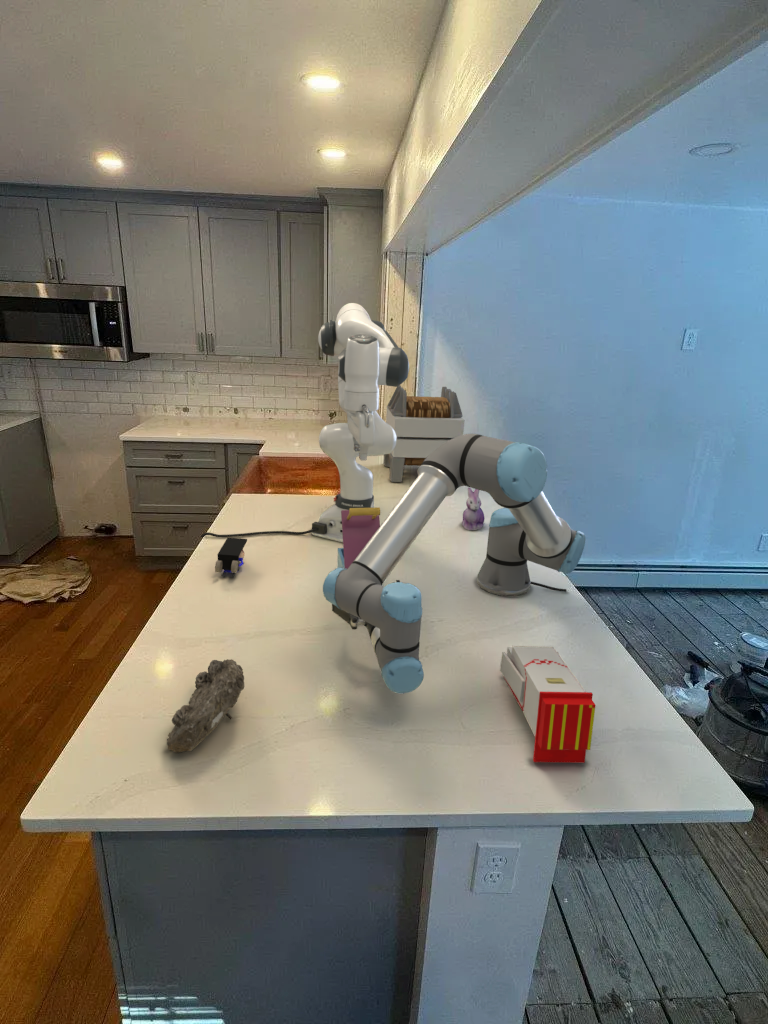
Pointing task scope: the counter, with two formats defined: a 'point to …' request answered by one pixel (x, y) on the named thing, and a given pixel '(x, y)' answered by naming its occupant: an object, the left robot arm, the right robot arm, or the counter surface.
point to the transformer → (420, 427)
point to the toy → (550, 702)
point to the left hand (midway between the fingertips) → (359, 455)
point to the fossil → (206, 705)
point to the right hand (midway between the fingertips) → (370, 586)
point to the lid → (358, 530)
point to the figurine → (473, 511)
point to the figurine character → (230, 556)
